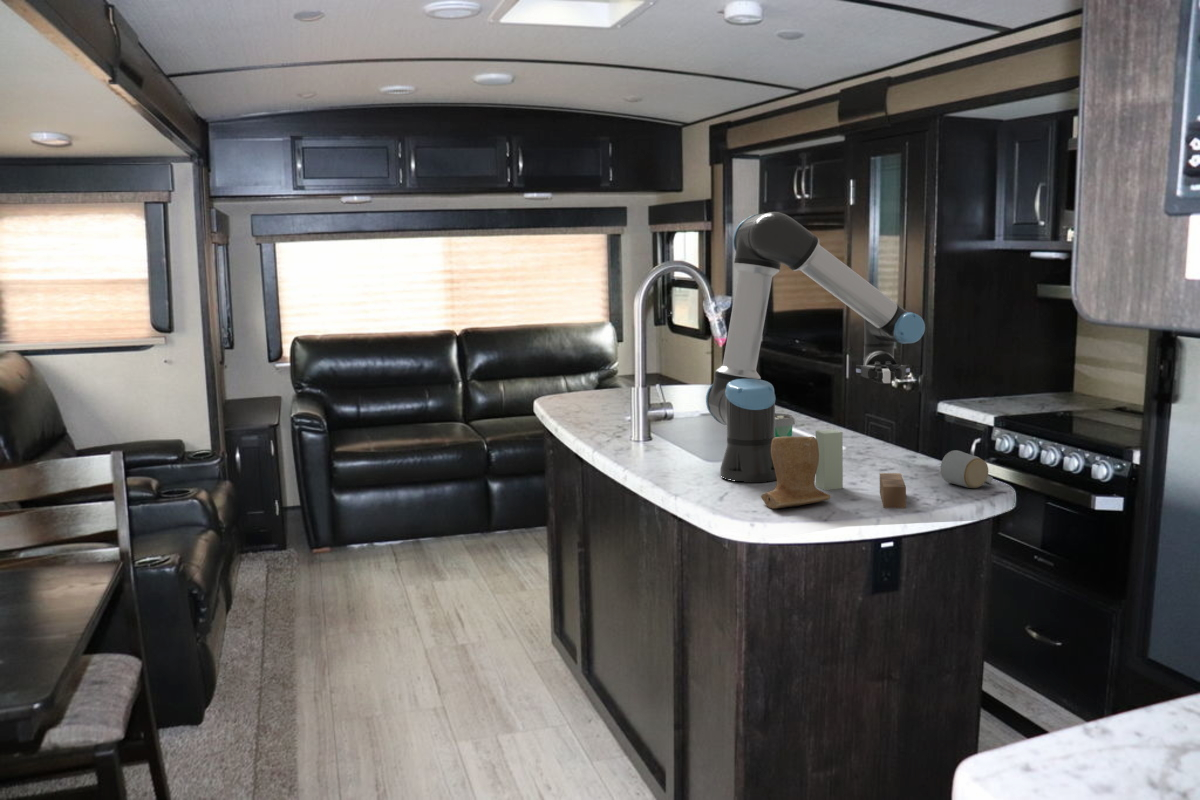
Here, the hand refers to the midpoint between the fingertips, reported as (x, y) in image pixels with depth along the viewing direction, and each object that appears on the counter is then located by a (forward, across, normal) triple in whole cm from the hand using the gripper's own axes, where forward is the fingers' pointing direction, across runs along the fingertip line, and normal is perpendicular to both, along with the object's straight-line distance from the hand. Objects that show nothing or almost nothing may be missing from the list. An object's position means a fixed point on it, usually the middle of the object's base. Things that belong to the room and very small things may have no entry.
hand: (887, 377), depth 224 cm
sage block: (+5, +13, -25) cm, 28 cm away
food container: (-39, +25, -25) cm, 52 cm away
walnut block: (+10, 0, -23) cm, 25 cm away
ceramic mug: (+1, -18, -25) cm, 31 cm away
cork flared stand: (+22, +21, -25) cm, 39 cm away
